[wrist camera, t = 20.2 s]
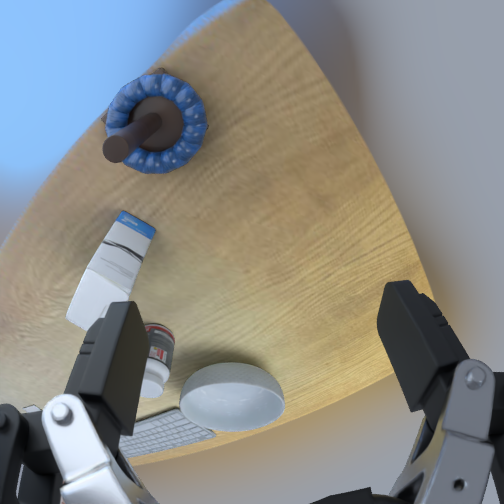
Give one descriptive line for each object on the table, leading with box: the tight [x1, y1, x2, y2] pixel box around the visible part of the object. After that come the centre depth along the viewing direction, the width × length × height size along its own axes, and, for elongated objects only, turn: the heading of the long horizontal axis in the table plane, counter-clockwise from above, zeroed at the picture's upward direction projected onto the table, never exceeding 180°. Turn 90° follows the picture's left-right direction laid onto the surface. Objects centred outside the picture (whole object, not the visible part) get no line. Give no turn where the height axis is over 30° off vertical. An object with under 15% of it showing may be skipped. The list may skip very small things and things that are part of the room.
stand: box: [101, 68, 209, 163], centre depth 25 cm, size 8×8×12 cm
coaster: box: [23, 405, 42, 413], centre depth 62 cm, size 8×8×1 cm
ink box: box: [66, 211, 156, 331], centre depth 33 cm, size 8×5×12 cm, turn 143°
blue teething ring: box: [105, 74, 207, 174], centre depth 28 cm, size 10×10×2 cm
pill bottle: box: [140, 324, 175, 398], centre depth 42 cm, size 6×6×10 cm
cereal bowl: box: [179, 362, 285, 432], centre depth 50 cm, size 17×17×7 cm
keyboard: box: [119, 409, 216, 458], centre depth 65 cm, size 44×12×2 cm, turn 126°
